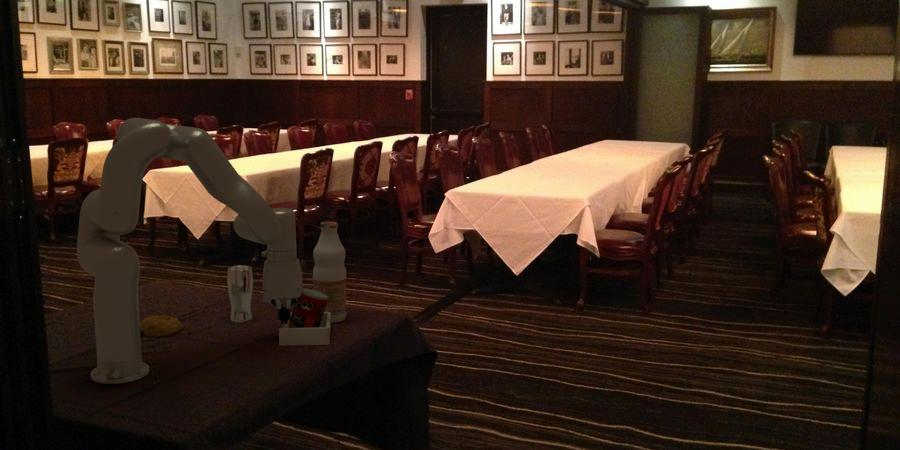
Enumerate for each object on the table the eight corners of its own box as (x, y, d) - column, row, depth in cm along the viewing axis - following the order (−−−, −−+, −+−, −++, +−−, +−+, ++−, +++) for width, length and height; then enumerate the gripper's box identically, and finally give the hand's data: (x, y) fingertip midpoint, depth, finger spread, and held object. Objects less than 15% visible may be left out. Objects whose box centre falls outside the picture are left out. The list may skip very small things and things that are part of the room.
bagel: (186, 335, 219) (185, 317, 218) (143, 340, 214) (142, 323, 213) (179, 324, 228) (178, 308, 227) (137, 330, 223) (136, 313, 222)
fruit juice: (306, 320, 233) (305, 224, 228) (324, 312, 241) (323, 218, 236) (335, 325, 229) (334, 227, 224) (352, 316, 238) (352, 221, 232)
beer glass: (257, 316, 236) (255, 265, 233) (249, 323, 229) (247, 271, 227) (233, 315, 237) (232, 264, 234) (225, 322, 230) (223, 270, 227)
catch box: (329, 344, 213) (329, 328, 212) (279, 345, 211) (278, 329, 211) (330, 327, 227) (330, 312, 226) (283, 328, 226) (283, 312, 225)
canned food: (283, 324, 220) (295, 286, 219) (309, 329, 224) (321, 291, 224) (294, 334, 214) (306, 294, 213) (320, 338, 218) (333, 299, 218)
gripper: (251, 259, 210) (254, 327, 214) (310, 257, 212) (312, 325, 216) (254, 252, 218) (257, 319, 221) (311, 251, 219) (313, 317, 223)
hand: (284, 322), depth 218 cm, fingers closed
